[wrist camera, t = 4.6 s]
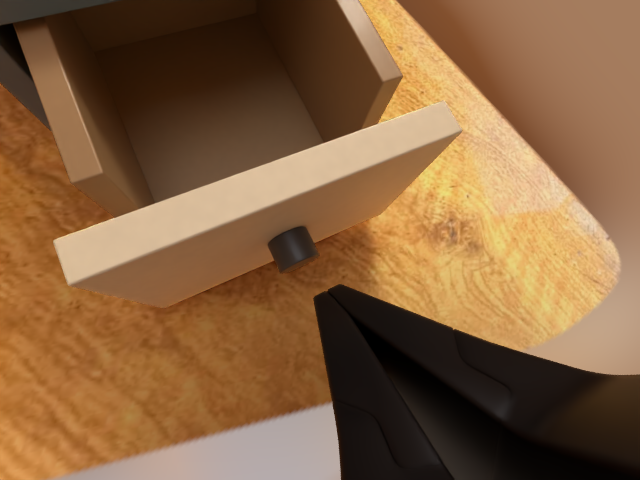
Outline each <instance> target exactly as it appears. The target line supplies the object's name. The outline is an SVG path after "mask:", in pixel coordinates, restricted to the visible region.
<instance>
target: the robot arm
mask: <svg viewBox="0 0 640 480" xmlns="http://www.w3.org/2000/svg"><path fill="white" fill-rule="evenodd" d="M313 299H314V305H315V311H316V316H317V321H318V327H319V332H320V338H321V343H322V349H323V354H324V360H325V365H326V370H327V376H328V381H329V387H330V392H331V398H332V402H333V409H334V414H335V421H336V427H337V434H338V441H339V454H340V468H341V480H640V375H609V374H601V373H595V372H590V371H585V370H581V369H577V368H574V367H570V366H567V365H564V364H560V363H557V362H553V361H550V360H546V359H543V358H540V357H536V356H533V355H530V354H526V353H523V352H519V351H516V350H513V349H510V348H507V347H504V346H500V345H497V344H494V343H491V342H488V341H486V340H483V339H480V338H477V337H475V336H472V335H469V334H467V333H464V332H462V331H459V330H457V329H454V330H453V328H451V327H449V326H446V325H444V324H441V323H438V322H436V321H433V320H431V319H428V318H426V317H423V316H421V315H418V314H416V313H413V312H411V311H408V310H405V309H403V308H400V307H398V306H395V305H393V304H390V303H388V302H385V301H383V300H380V299H378V298H375V297H373V296H370V295H367V294H365V293H362V292H360V291H357V290H355V289H352V288H350V287H347V286H345V285H342V284H338V285H336V286H334V287H332V288H330V289H329V290H328V291H327V292H326V291H324V292H322V293H320V294H318V295H316V296H315V297H314V298H313Z"/></svg>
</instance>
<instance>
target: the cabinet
mask: <svg viewBox="0 0 640 480" xmlns="http://www.w3.org/2000/svg"><path fill="white" fill-rule="evenodd" d="M116 1H121V0H0V83H1V84H2V85H3V86H4V87H5V88H6V89H7V90H8V91H9V92H11V93H12V94H13V95H14V96H15V97H16V98H17V99H18V100H19V101H20V102H21V103H22V104H23V105H24V106H25V107H26V108H27V109H28V110H29V111H31V112H32V113H33V114H34V115H35V116H36V117H37V118H38V119H39V120H40V121H41V122H42V123H43V124H44V125H45V126H46V127H47V128H48V129H49V130H51V128H50V125H49V122H48V119H47V116H46V114H45V111H44V108H43V105H42V103H41V100H40V97H39V94H38V92H37V89H36V86H35V83H34V81H33V78H32V75H31V72H30V70H29V67H28V64H27V61H26V59H25V56H24V53H23V50H22V48H21V45H20V42H19V39H18V37H17V34H16V31H15V28H14V26H13V23H15V22H20V21H25V20H29V19H34V18H39V17H44V16H49V15H54V14H58V13H63V12H68V11H73V10H78V9H83V8H87V7H92V6H97V5H102V4H107V3H112V2H116ZM51 131H52V130H51Z"/></svg>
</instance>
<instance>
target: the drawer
mask: <svg viewBox="0 0 640 480" xmlns="http://www.w3.org/2000/svg"><path fill="white" fill-rule="evenodd" d="M13 26H14V28H15V31H16V34H17V37H18V39H19V42H20V45H21V48H22V50H23V53H24V56H25V59H26V61H27V64H28V67H29V70H30V72H31V75H32V78H33V81H34V83H35V86H36V89H37V92H38V94H39V97H40V100H41V103H42V105H43V108H44V111H45V114H46V116H47V119H48V122H49V125H50V128H51V130H52V133H53V136H54V139H55V141H56V144H57V147H58V150H59V152H60V155H61V158H62V161H63V163H64V166H65V169H66V172H67V174H68V177H69V180H70V183H71V184H72V185H74V186H75V187H76V188H77V189H79V190H80V191H81V192H83V193H84V194H85V195H86V196H88V197H89V198H90V199H92V200H93V201H94V202H96V203H97V204H98V205H99V206H101V207H102V208H103V209H105V210H106V211H107V212H108V213H110V214H111V215H112V216H114V217H115V218H113V219H110V220H108V221H105V222H102V223H99V224H96V225H94V226H91V227H88V228H85V229H82V230H80V231H77V232H74V233H71V234H68V235H66V236H63V237H60V238H57V239H55V240H53V243H54V246H55V249H56V252H57V255H58V258H59V261H60V264H61V267H62V270H63V272H64V275H65V278H66V281H67V284H68V285H69V286H72V287H76V288H80V289H84V290H89V291H93V292H97V293H101V294H105V295H109V296H113V297H117V298H122V299H126V300H130V301H134V302H138V303H142V304H146V305H151V306H155V307H159V308H167V307H169V306H171V305H173V304H176V303H178V302H180V301H183V300H185V299H187V298H190V297H192V296H194V295H196V294H199V293H201V292H203V291H206V290H208V289H210V288H212V287H215V286H217V285H219V284H222V283H224V282H226V281H229V280H231V279H233V278H235V277H238V276H240V275H242V274H245V273H247V272H249V271H251V270H254V269H256V268H258V267H261V266H263V265H265V264H268V263H270V262H272V261H275V263H276V265H277V267H278V270H279V272H280V273H281V274H284V273H288V272H291V271H293V270H296V269H298V268H300V267H302V266H304V265H306V264H308V263H310V262H312V261H313V260H315V259H316V258H318V257H319V252H318V250H317V248H316V246H315V244H314V243H316V242H318V241H320V240H323V239H325V238H327V237H329V236H332V235H334V234H336V233H339V232H341V231H343V230H346V229H348V228H350V227H352V226H355V225H357V224H359V223H362V222H364V221H366V220H368V219H371V218H373V217H375V216H378V215H380V214H381V213H382V212H383V211H384V210H385V209H386V208H387V207H388V206H389V205H390V204H391V203H392V202H393V201H394V200H395V199H396V198H397V197H398V196H399V195H400V194H401V193H402V192H403V191H404V190H405V189H406V188H407V187H408V186H409V185H410V184H411V183H412V182H413V181H414V180H415V179H416V178H417V177H418V176H419V175H420V174H421V173H422V172H423V171H424V170H425V169H426V168H427V167H428V166H429V165H430V164H431V163H432V162H433V161H434V160H435V159H436V158H437V157H438V156H439V155H440V153H441V152H442V151H443V150H444V149H445V148H446V147H447V146H448V145H449V144H450V143H451V142H452V141H453V140H454V139H455V138H456V137H457V136H458V135H459V134H460V133H461V132H462V128H461V127H460V125H459V124H458V122H457V120H456V119H455V117H454V115H453V114H452V112H451V110H450V109H449V107H448V105H447V104H446V102H445V101H440V102H438V103H435V104H432V105H429V106H426V107H424V108H421V109H418V110H415V111H412V112H410V113H407V114H404V115H401V116H398V117H396V118H393V119H390V120H387V121H384V122H382V123H379V124H377V123H378V122H379V120H380V118H381V116H382V114H383V112H384V110H385V109H386V107H387V105H388V103H389V101H390V99H391V98H392V96H393V94H394V92H395V90H396V88H397V87H398V85H399V83H400V81H401V79H402V77H403V75H402V73H401V71H400V70H399V68H398V66H397V64H396V63H395V61H394V59H393V58H392V56H391V54H390V52H389V51H388V49H387V47H386V46H385V44H384V42H383V41H382V39H381V37H380V35H379V34H378V32H377V30H376V29H375V27H374V25H373V24H372V22H371V20H370V18H369V17H368V15H367V13H366V12H365V10H364V8H363V7H362V5H361V3H360V1H359V0H121V1H116V2H112V3H107V4H102V5H97V6H92V7H87V8H83V9H78V10H73V11H68V12H63V13H58V14H54V15H49V16H44V17H39V18H34V19H29V20H25V21H20V22H15V23H13Z"/></svg>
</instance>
